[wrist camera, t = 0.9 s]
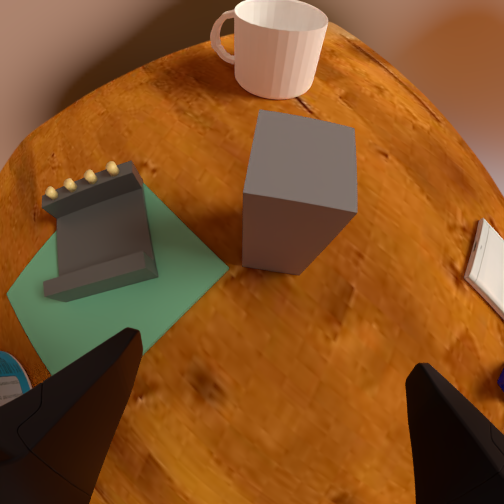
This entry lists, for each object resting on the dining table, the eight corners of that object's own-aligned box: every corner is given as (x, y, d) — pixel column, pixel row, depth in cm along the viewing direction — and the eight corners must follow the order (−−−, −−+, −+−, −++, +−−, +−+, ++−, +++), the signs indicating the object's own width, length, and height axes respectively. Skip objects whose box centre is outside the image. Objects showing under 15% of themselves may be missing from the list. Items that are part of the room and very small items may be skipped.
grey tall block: (299, 275, 22) (357, 212, 11) (242, 266, 22) (243, 192, 11) (305, 216, 24) (353, 120, 12) (252, 207, 24) (261, 101, 12)
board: (84, 413, 18) (81, 414, 17) (10, 294, 20) (6, 293, 20) (229, 269, 22) (228, 267, 21) (126, 166, 24) (124, 163, 24)
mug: (322, 73, 29) (339, 14, 20) (292, 112, 27) (308, 41, 18) (239, 44, 30) (240, -13, 22) (198, 77, 28) (190, 12, 19)
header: (158, 277, 21) (140, 264, 17) (65, 302, 20) (36, 294, 16) (142, 180, 23) (127, 153, 19) (60, 210, 22) (36, 190, 18)
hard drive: (533, 276, 22) (484, 216, 24) (522, 333, 20) (470, 275, 21) (525, 279, 23) (476, 221, 25) (512, 334, 21) (460, 279, 23)
